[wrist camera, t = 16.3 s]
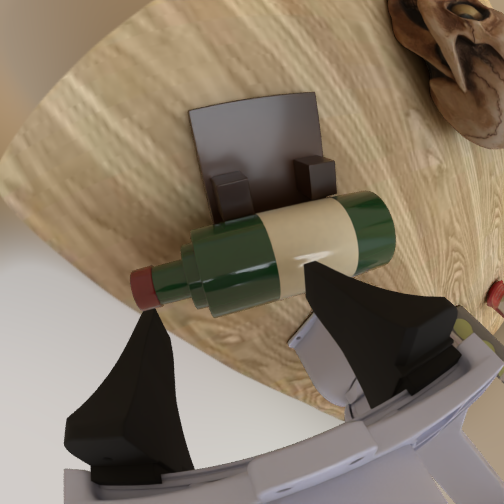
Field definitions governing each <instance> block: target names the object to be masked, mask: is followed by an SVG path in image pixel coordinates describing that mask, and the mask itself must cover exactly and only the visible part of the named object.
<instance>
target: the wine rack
mask: <svg viewBox="0 0 504 504" xmlns="http://www.w3.org/2000/svg"><path fill="white" fill-rule="evenodd" d="M188 116H189V121H190V126H191V131H192V135H193V140H194V144H195V149H196V153H197V158H198V162H199V166H200V171H201V175H202V179H203V184H204V188H205V192H206V196H207V200H208V205H209V209H210V213H211V217H212V221H213V224H216V223H220V222H224V221H228V220H232V219H236V218H241V217H245V216H249V215H253V214H256V213H259V212H264V211H268V210H272V209H277V208H281V207H286V206H290V205H294V204H299V203H304V202H308V201H313V200H318V199H322V198H326V196H329V195H334V194H337V187H336V172H335V161H334V160H331V159H328V158H325V157H323V151H322V141H321V133H320V124H319V116H318V109H317V102H316V95H315V92H304V93H292V94H282V95H273V96H265V97H257V98H250V99H244V100H238V101H232V102H226V103H221V104H216V105H211V106H206V107H202V108H197V109H193V110H189V111H188Z"/></svg>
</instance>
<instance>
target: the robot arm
mask: <svg viewBox="0 0 504 504" xmlns="http://www.w3.org/2000/svg"><path fill="white" fill-rule="evenodd" d="M304 278H305V292H306V299H307V300H308V302H309V304H310V306H311V308H312V310H313V311H314V312H313V314H312V315H311V316H310V317H309V318H308V320H307V321H306V322H305V323H304V324H303V325H302V327H301V328H300V329H299V330H298V331H297V332H296V333H295V335H294V336H293V337H292V338H291V339H290V340H289V341H288V346H289V347H291V348H294V349H295V351H296V353H297V355H298V357H299V359H300V360H301V362H302V364H303V366H304V368H305V370H306V372H307V373H308V375H309V377H310V379H311V381H312V383H313V384H314V386H315V388H316V389H317V390H318V392H319V393H320V394H321V395H322V396H323V397H324V398H325V399H327V400H328V401H329V402H331V403H333V404H335V405H337V406H342V407H344V406H346V407H345V423H343V424H341V425H339V426H337V427H334V428H332V429H330V430H327V431H325V432H323V433H321V434H318V435H316V436H313V437H311V438H308V439H305V440H303V441H300V442H297V443H295V444H292V445H289V446H286V447H283V448H281V449H277V450H274V451H271V452H268V453H265V454H261V455H258V456H255V457H251V458H247V459H243V460H240V461H235V462H231V463H227V464H222V465H218V466H213V467H208V468H202V469H197V470H195V469H194V466H193V463H192V460H191V458H190V455H189V451H188V448H187V445H186V441H185V438H184V434H183V430H182V426H181V422H180V417H179V412H178V408H177V402H176V392H175V377H174V359H173V351H172V346H171V340H170V337H169V335H168V333H167V331H166V329H165V327H164V325H163V323H162V321H161V319H160V317H159V315H158V313H157V311H156V309H155V308H153V309H149V310H146V311H143V313H142V314H141V316H140V319H139V321H138V323H137V325H136V327H135V329H134V331H133V333H132V335H131V337H130V339H129V341H128V343H127V345H126V347H125V349H124V351H123V352H122V354H121V356H120V358H119V360H118V361H117V363H116V364H115V366H114V367H113V369H112V370H111V372H110V373H109V375H108V376H107V377H106V379H105V380H104V381H103V383H102V384H101V385H100V386H99V387H98V389H97V390H96V391H95V392H94V393H93V395H92V396H91V397H90V398H89V399H88V400H87V401H86V402H85V403H84V404H83V405H82V406H81V407H80V408H78V409H77V410H76V411H75V412H74V413H73V414H71V415H70V416H69V417H68V418H67V421H66V428H65V437H64V446H65V448H66V449H67V450H68V451H69V452H70V453H71V454H73V455H74V456H75V457H77V458H79V459H80V460H82V461H84V462H85V463H87V464H89V465H90V466H91V472H90V471H86V470H77V469H64V504H448V502H447V500H446V499H445V497H444V496H443V494H442V493H441V491H440V489H439V488H438V486H437V485H436V483H435V482H434V480H435V481H436V482H437V483H438V484H439V485H440V486H441V488H442V489H443V490H444V491H445V492H446V493H447V494H448V495H449V497H450V498H451V499H452V500H453V501H454V502H455V503H456V504H504V482H503V481H502V480H501V478H500V477H499V476H498V474H497V473H496V472H495V470H494V469H493V468H492V466H491V465H490V464H489V463H488V461H487V460H486V459H485V458H484V456H483V455H482V454H481V453H480V451H479V450H478V449H477V448H476V446H475V445H474V444H473V443H472V441H471V440H470V439H469V438H468V437H467V436H466V434H465V433H464V432H463V430H462V425H463V422H464V419H465V416H466V413H467V410H468V408H469V407H470V406H471V405H472V404H473V403H474V402H475V401H476V400H477V399H478V398H479V397H480V396H481V395H482V394H483V393H484V391H485V390H486V389H487V388H488V386H489V385H490V384H491V382H492V381H493V380H494V378H495V377H496V376H497V374H498V373H499V372H500V370H501V369H502V367H503V366H504V362H503V361H502V360H501V359H500V358H499V357H498V356H497V355H496V354H495V353H494V352H493V351H492V350H491V349H490V348H489V347H488V346H487V345H486V344H485V343H484V342H483V341H482V340H481V339H480V338H479V337H478V336H477V335H476V334H475V333H472V334H471V335H470V336H468V337H467V338H466V339H465V340H464V341H462V342H461V343H460V344H459V345H458V346H457V348H455V347H454V346H453V345H452V344H453V343H454V340H453V339H452V338H451V337H450V334H451V332H452V330H453V327H454V325H455V322H456V319H457V315H458V310H457V308H456V307H455V306H454V305H453V304H452V303H451V302H450V301H448V300H447V299H446V298H445V297H428V296H417V295H409V294H403V293H398V292H394V291H389V290H385V289H382V288H379V287H375V286H372V285H369V284H366V283H364V282H361V281H359V280H356V279H354V278H351V277H349V276H347V275H345V274H343V273H340V272H338V271H336V270H334V269H332V268H330V267H328V266H326V265H324V264H322V263H319V262H317V261H312V262H309V263H306V264H304ZM431 476H432V477H433V478H434V480H433V478H432V477H431Z"/></svg>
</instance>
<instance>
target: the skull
mask: <svg viewBox="0 0 504 504" xmlns="http://www.w3.org/2000/svg"><path fill="white" fill-rule="evenodd" d="M388 8H389V13H390V15H391V17H392V24H393V31H394V35H395V37H396V39H397V40H398V42H400V43H401V44H402V45H403V46H404V47H406V48H407V49H409V50H411V51H413V52H414V53H416V54H418V55H419V56H421V57H423V58H424V60H425V62H426V64H427V67H428V69H429V72H430V82H429V84H430V94H431V98H432V100H433V102H434V103H435V105H436V107H437V108H438V110H439V111H440V113H441V114H442V116H443V117H444V119H445V120H446V121H448V122H449V123H450V124H451V125H452V126H453V127H454V128H455V129H456V130H457V131H458V132H459V133H460V134H461V135H462V136H463V137H465V138H466V139H468V140H469V141H471V142H473V143H475V144H477V145H479V146H482V147H484V148H488V149H502V148H504V14H503V13H502V12H499V11H497V10H494V9H491V8H488V7H486V6H484V5H483V4H482V3H481V2H480V1H479V0H388Z"/></svg>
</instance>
